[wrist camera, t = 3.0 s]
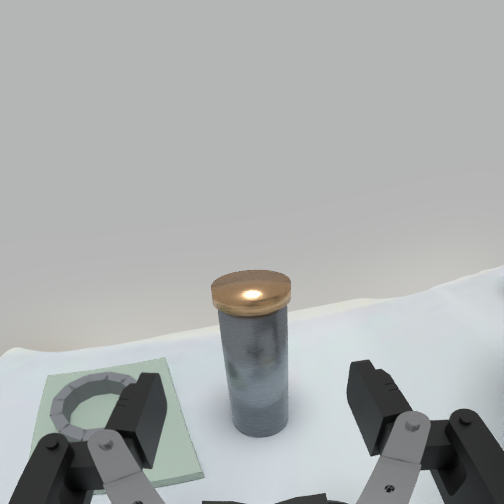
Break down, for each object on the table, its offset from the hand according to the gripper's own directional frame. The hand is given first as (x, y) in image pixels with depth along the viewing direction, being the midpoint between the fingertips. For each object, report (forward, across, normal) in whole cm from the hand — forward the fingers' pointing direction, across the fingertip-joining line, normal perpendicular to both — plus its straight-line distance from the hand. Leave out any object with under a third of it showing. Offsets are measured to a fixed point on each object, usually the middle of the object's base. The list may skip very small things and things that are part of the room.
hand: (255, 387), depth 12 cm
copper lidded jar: (+12, 0, +14) cm, 18 cm away
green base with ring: (+10, +15, +14) cm, 23 cm away
